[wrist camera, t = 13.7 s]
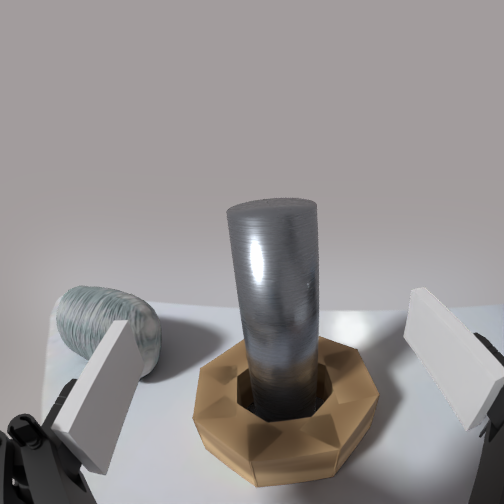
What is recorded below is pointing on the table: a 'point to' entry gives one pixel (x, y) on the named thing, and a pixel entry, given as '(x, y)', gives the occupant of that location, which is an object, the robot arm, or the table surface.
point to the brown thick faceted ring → (285, 432)
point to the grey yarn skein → (107, 321)
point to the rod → (278, 302)
